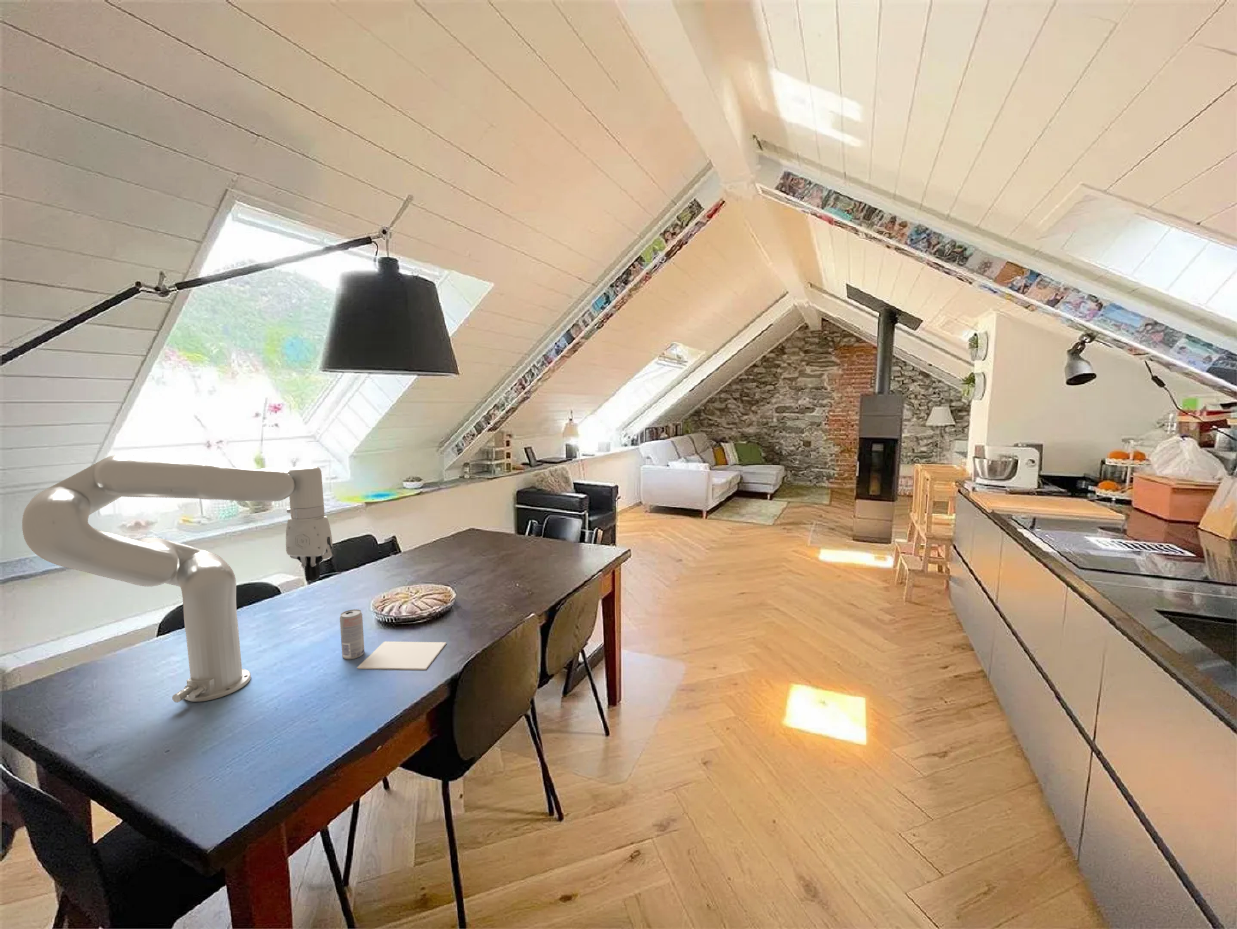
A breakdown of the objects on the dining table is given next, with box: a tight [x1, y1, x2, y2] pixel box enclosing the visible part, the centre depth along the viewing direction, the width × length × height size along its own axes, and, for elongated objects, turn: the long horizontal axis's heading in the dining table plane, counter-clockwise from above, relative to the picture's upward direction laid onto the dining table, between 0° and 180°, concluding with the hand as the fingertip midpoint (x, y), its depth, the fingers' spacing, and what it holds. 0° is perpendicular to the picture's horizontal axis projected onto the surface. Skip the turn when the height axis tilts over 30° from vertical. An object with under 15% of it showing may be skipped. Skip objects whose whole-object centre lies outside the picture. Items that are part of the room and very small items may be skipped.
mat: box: [356, 640, 447, 671], centre depth 132 cm, size 14×18×1 cm
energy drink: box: [339, 608, 365, 660], centre depth 131 cm, size 5×5×12 cm
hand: (313, 579), depth 130 cm, fingers closed
